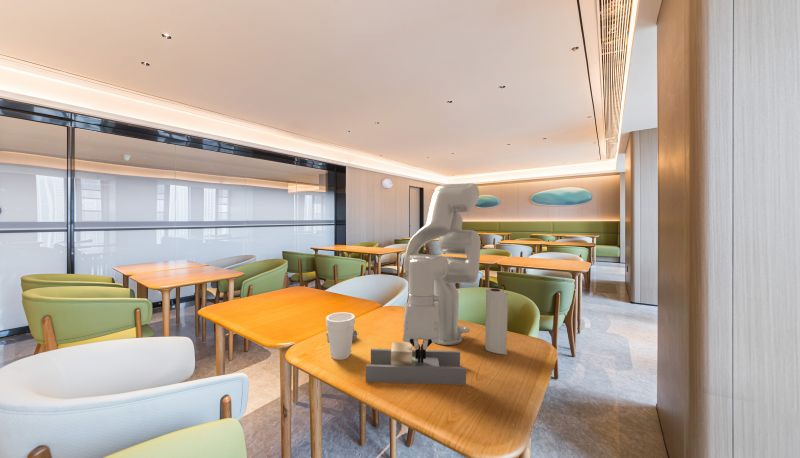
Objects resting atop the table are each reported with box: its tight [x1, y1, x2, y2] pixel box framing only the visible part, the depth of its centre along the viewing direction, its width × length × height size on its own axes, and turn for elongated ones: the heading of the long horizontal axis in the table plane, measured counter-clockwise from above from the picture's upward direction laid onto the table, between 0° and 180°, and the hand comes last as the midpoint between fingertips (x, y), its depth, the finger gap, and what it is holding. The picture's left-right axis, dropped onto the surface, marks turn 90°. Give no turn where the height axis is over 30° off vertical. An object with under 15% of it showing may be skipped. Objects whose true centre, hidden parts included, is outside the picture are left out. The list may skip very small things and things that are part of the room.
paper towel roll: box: [484, 287, 509, 356], centre depth 102 cm, size 7×6×21 cm
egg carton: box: [325, 329, 359, 343], centre depth 110 cm, size 11×8×4 cm
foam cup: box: [325, 311, 356, 360], centre depth 98 cm, size 10×9×13 cm
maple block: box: [390, 342, 413, 366], centre depth 87 cm, size 6×6×5 cm
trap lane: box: [365, 348, 467, 386], centre depth 87 cm, size 28×11×4 cm, turn 88°
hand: (420, 360), depth 87 cm, fingers closed
